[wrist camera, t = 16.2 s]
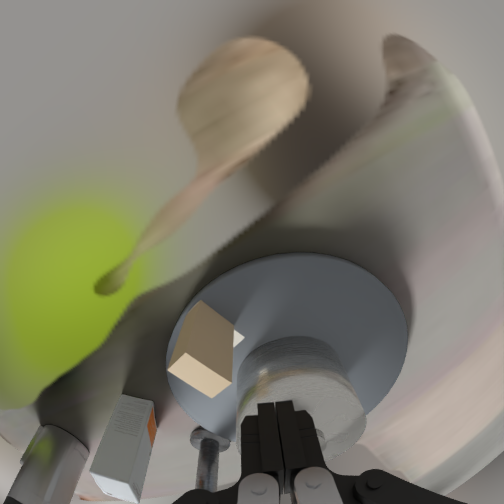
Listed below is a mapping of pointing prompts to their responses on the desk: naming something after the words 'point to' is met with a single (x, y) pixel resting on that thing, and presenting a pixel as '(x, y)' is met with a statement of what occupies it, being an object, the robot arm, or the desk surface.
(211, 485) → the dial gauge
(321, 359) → the cover
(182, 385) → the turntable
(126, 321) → the desk surface
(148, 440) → the skincare box
